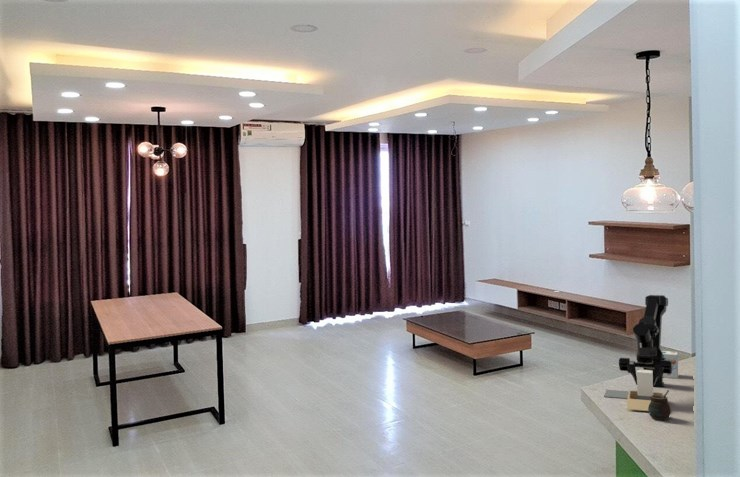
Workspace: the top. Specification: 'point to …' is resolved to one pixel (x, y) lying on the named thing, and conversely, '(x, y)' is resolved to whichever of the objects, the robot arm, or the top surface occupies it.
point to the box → (644, 384)
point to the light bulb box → (674, 360)
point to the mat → (616, 394)
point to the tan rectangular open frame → (638, 401)
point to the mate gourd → (659, 407)
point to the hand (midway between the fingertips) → (644, 384)
